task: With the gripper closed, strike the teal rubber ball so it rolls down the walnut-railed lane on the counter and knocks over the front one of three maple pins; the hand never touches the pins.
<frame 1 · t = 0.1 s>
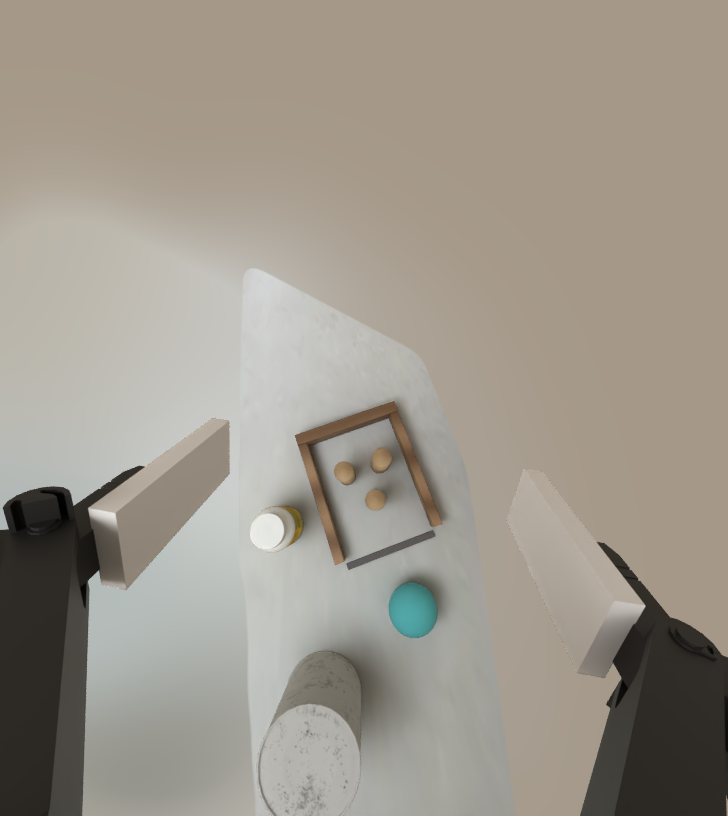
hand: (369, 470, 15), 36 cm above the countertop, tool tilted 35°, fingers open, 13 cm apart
pin 1: (379, 465, 51), on the countertop
speckled white cylinder: (324, 693, 43), on the countertop
ball: (412, 609, 43), on the countertop
foul line: (391, 549, 48), on the countertop
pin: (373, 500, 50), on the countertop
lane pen: (366, 480, 50), on the countertop
pin 2: (347, 476, 50), resting in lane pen
supplement bottle: (285, 525, 49), on the countertop
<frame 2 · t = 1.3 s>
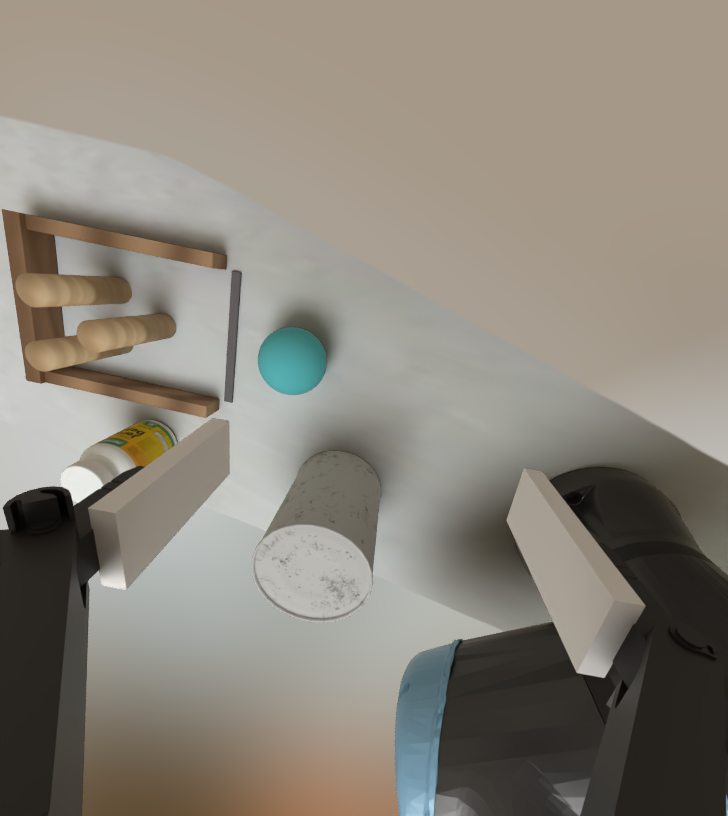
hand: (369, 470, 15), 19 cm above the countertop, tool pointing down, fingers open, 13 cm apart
pin 1: (119, 290, 33), on the countertop
speckled white cylinder: (338, 488, 38), on the countertop
ball: (292, 361, 31), on the countertop
foul line: (232, 340, 34), on the countertop
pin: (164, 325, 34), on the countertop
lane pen: (135, 319, 34), on the countertop
pin 2: (122, 341, 35), resting in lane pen
supplement bottle: (157, 440, 39), on the countertop
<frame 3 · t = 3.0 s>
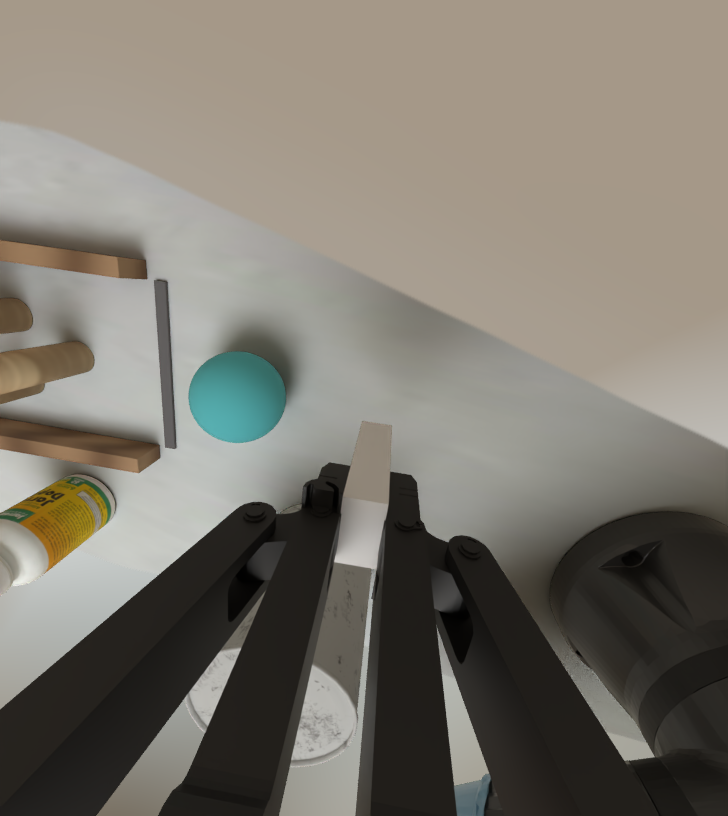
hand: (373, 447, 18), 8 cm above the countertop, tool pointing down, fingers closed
pin 1: (17, 314, 26), on the countertop
speckled white cylinder: (320, 547, 30), on the countertop
ball: (239, 397, 23), on the countertop
foul line: (166, 371, 26), on the countertop
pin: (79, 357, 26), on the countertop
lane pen: (42, 351, 26), on the countertop
pin 2: (29, 379, 27), resting in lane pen
supplement bottle: (91, 497, 31), on the countertop
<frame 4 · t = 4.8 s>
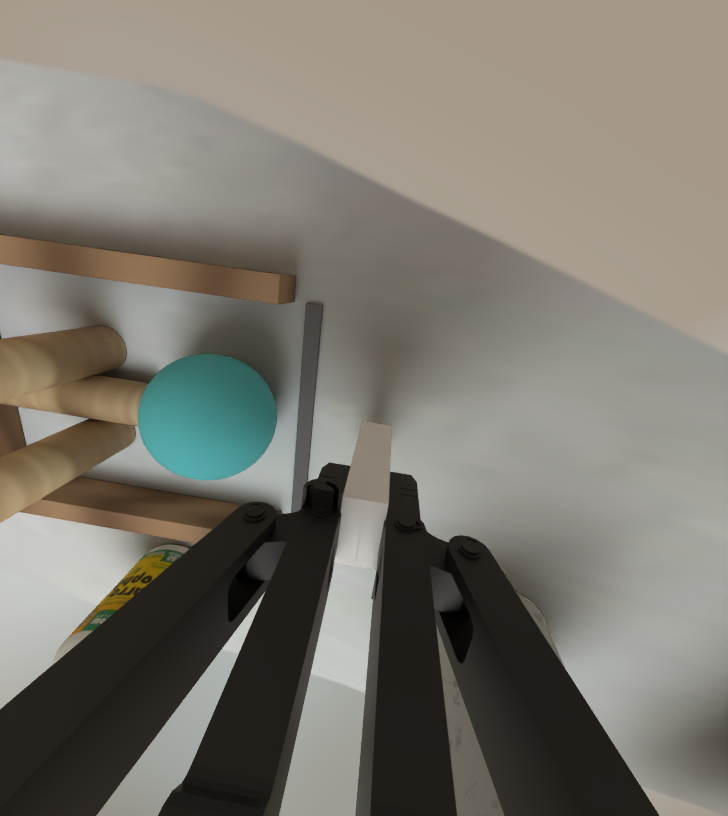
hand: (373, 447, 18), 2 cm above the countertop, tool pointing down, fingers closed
pin 1: (105, 347, 19), on the countertop
speckled white cylinder: (474, 632, 24), on the countertop
ball: (212, 416, 17), on the countertop
foul line: (305, 421, 19), on the countertop
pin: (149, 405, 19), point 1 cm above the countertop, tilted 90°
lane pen: (135, 394, 20), on the countertop
pin 2: (116, 429, 21), resting in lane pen
supplement bottle: (183, 569, 25), on the countertop
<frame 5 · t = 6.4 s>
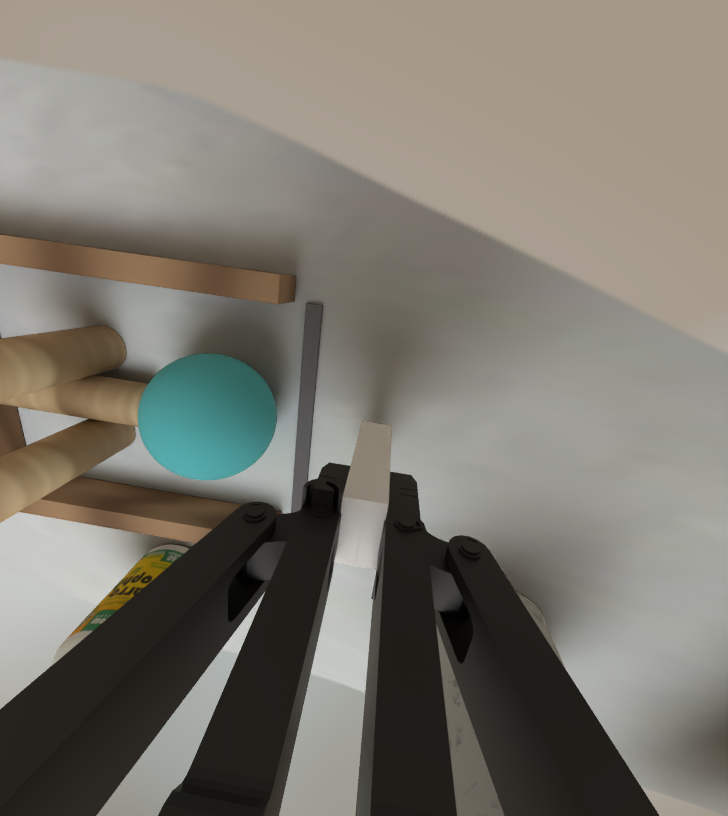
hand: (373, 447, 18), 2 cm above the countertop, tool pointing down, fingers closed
pin 1: (105, 347, 19), on the countertop
speckled white cylinder: (474, 632, 24), on the countertop
ball: (212, 416, 17), on the countertop
foul line: (305, 421, 19), on the countertop
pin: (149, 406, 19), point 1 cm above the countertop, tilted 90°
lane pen: (135, 394, 20), on the countertop
pin 2: (116, 429, 21), resting in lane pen
supplement bottle: (183, 569, 25), on the countertop
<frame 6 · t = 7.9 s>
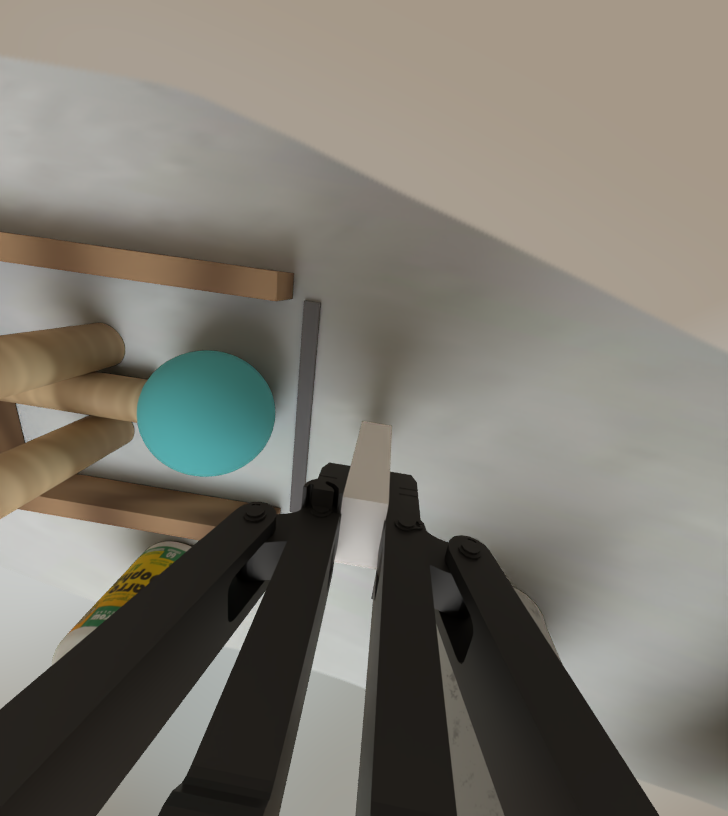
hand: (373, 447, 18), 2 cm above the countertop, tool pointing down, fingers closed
pin 1: (103, 344, 19), on the countertop
speckled white cylinder: (472, 628, 24), on the countertop
ball: (211, 413, 17), on the countertop
foul line: (303, 418, 20), on the countertop
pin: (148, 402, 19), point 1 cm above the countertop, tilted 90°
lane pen: (134, 391, 20), on the countertop
pin 2: (114, 426, 21), resting in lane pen
supplement bottle: (182, 566, 25), on the countertop
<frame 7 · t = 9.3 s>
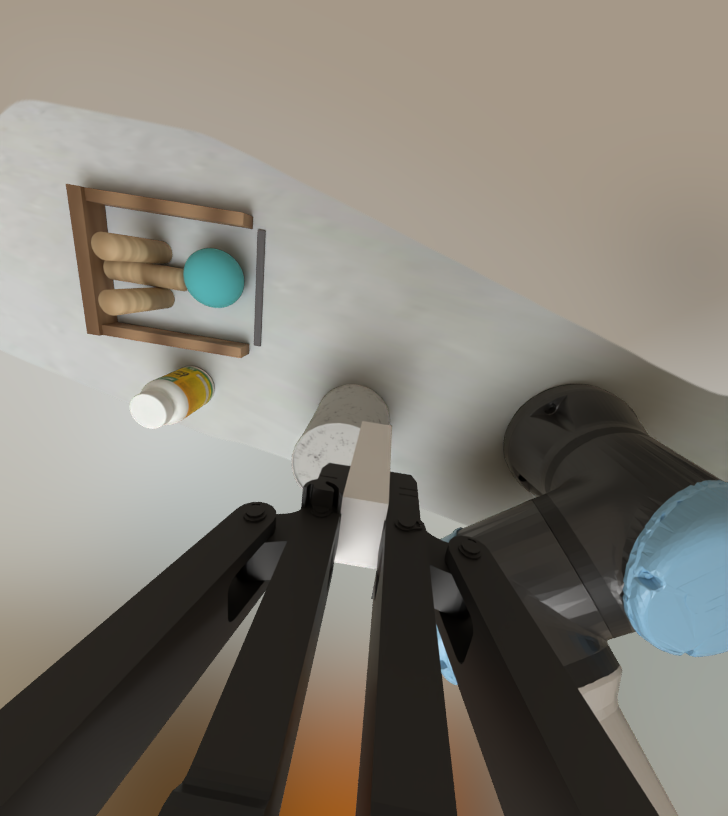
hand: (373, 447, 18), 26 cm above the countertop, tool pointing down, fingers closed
pin 1: (162, 252, 39), on the countertop
speckled white cylinder: (353, 418, 45), on the countertop
ball: (214, 278, 37), on the countertop
foul line: (259, 291, 40), on the countertop
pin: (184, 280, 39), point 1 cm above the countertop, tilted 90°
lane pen: (175, 277, 40), on the countertop
pin 2: (164, 297, 41), resting in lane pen
supplement bottle: (196, 384, 45), on the countertop
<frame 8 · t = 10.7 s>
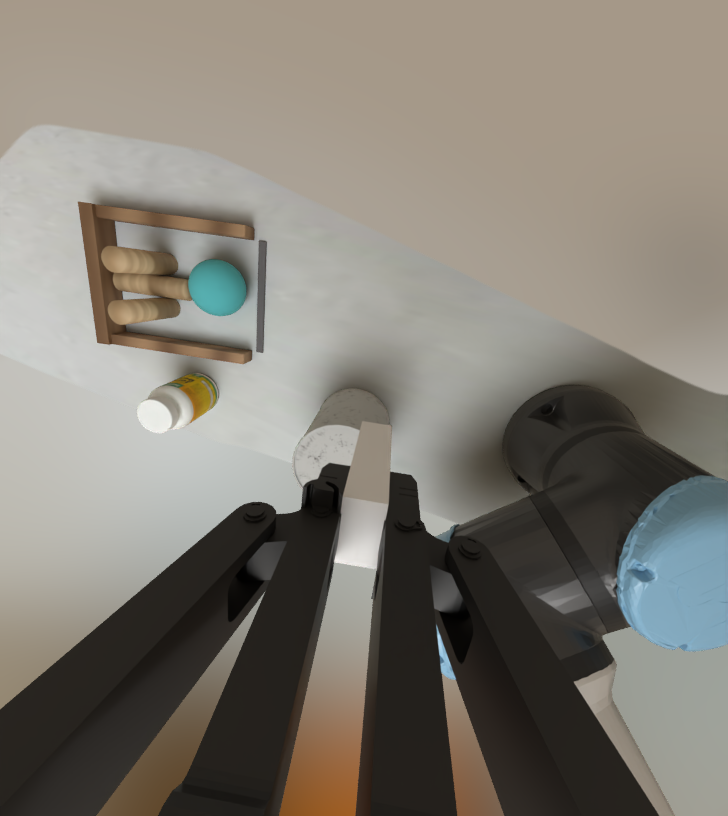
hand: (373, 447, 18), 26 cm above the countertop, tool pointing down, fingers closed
pin 1: (168, 264, 41), on the countertop
speckled white cylinder: (353, 421, 46), on the countertop
ball: (218, 288, 39), on the countertop
foul line: (261, 299, 42), on the countertop
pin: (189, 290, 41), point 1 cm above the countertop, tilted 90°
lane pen: (181, 288, 42), on the countertop
pin 2: (170, 307, 43), resting in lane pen
supplement bottle: (201, 390, 47), on the countertop
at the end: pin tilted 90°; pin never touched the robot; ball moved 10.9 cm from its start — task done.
